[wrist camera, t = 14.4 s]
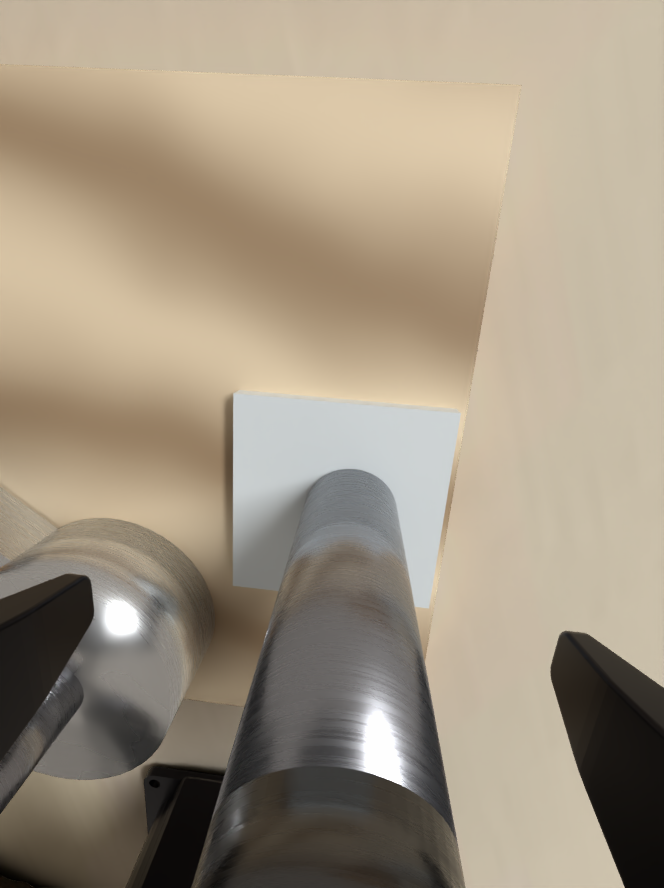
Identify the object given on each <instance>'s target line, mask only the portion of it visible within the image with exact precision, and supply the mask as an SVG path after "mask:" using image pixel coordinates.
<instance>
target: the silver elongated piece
mask: <svg viewBox="0 0 664 888" xmlns="http://www.w3.org/2000/svg"><path fill="white" fill-rule="evenodd" d="M68 573H71V574H80V575H86V576H88V577H89V578H90V580H91V584H92V593H93V602H94V617H93V620H92V623H91V625H90V626H89V628H88V630H87V631H86V633H85V635H84V636H83V638H82V640H81V641H80V643H79V645H78V646H77V648H76V650H75V651H74V653H73V655H72V656H71V658H70V660H69V661H68V663H67V665H66V666H65V668H64V670H63V672H62V673H61V675H60V677H59V678H58V680H57V682H56V683H55V685H54V687H53V688H52V690H51V691H50V693H49V694H48V696H47V698H46V699H45V701H44V702H43V704H42V705H41V706H40V708H39V709H38V711H37V712H36V714H35V715H34V716H33V718H32V719H31V721H30V722H29V723H28V725H27V726H26V727H25V729H24V730H23V732H22V733H21V734H20V736H19V737H18V739H17V740H16V741H15V743H14V744H13V745H12V747H11V748H10V750H9V751H8V752H7V754H6V755H5V757H4V758H3V759H2V761H1V762H0V814H1V812H2V811H3V810H4V808H5V807H6V806H7V804H8V803H9V802H10V800H11V799H12V798H13V796H14V795H15V794H16V792H17V791H18V790H19V788H20V787H21V786H22V784H23V783H24V782H25V780H26V779H27V778H28V776H29V775H30V773H31V772H32V771H36V772H39V773H43V774H46V775H50V776H54V777H60V778H66V779H78V780H92V779H102V778H108V777H112V776H116V775H120V774H122V773H125V772H127V771H130V770H132V769H134V768H135V767H137V766H139V765H141V764H142V763H143V762H145V761H146V760H147V759H148V758H149V757H151V756H152V754H153V753H154V752H155V751H156V750H157V749H158V747H159V746H160V744H161V742H162V741H163V739H164V737H165V735H166V733H167V731H168V729H169V727H170V725H171V723H172V721H173V719H174V717H175V715H176V713H177V711H178V709H179V706H180V704H181V702H182V700H183V698H184V696H185V694H186V692H187V690H188V688H189V686H190V684H191V682H192V680H193V678H194V676H195V674H196V672H197V670H198V668H199V666H200V664H201V662H202V659H203V657H204V655H205V653H206V651H207V649H208V647H209V645H210V642H211V639H212V637H213V632H214V627H215V613H214V605H213V601H212V597H211V594H210V591H209V589H208V586H207V584H206V582H205V580H204V578H203V577H202V575H201V573H200V572H199V570H198V569H197V568H196V566H195V565H194V564H193V562H192V561H191V560H190V559H189V558H188V557H187V556H186V555H185V554H184V553H183V552H182V551H181V550H180V549H179V548H178V547H176V546H175V545H174V544H173V543H172V542H170V541H169V540H167V539H166V538H164V537H163V536H161V535H159V534H157V533H155V532H154V531H152V530H150V529H148V528H145V527H142V526H140V525H137V524H134V523H131V522H127V521H123V520H117V519H110V518H92V519H83V520H79V521H75V522H72V523H69V524H67V525H64V526H62V527H60V528H57V527H55V526H54V525H52V524H51V523H50V522H48V521H47V520H46V519H44V518H43V517H41V516H40V515H39V514H37V513H36V512H35V511H33V510H32V509H30V508H29V507H28V506H26V505H25V504H24V503H22V502H21V501H19V500H18V499H17V498H15V497H14V496H12V495H11V494H10V493H8V492H7V491H6V490H4V489H3V488H1V487H0V599H2V598H4V597H7V596H9V595H12V594H15V593H17V592H20V591H22V590H25V589H27V588H30V587H33V586H35V585H38V584H40V583H43V582H45V581H48V580H51V579H53V578H56V577H58V576H61V575H64V574H68Z"/></svg>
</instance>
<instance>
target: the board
mask: <svg viewBox="0 0 664 888" xmlns="http://www.w3.org/2000/svg"><path fill="white" fill-rule="evenodd" d="M521 86H522V85H512V84H487V83H461V82H436V81H411V80H386V79H361V78H335V77H310V76H285V75H260V74H234V73H209V72H184V71H159V70H134V69H108V68H83V67H58V66H33V65H8V64H0V487H1V488H3V489H4V490H6V491H7V492H8V493H10V494H11V495H12V496H14V497H15V498H17V499H18V500H19V501H21V502H22V503H24V504H25V505H26V506H28V507H29V508H30V509H32V510H33V511H35V512H36V513H37V514H39V515H40V516H41V517H43V518H44V519H46V520H47V521H48V522H50V523H51V524H52V525H54V526H55V527H57V528H60V527H62V526H64V525H67V524H69V523H72V522H75V521H79V520H83V519H92V518H110V519H117V520H123V521H127V522H131V523H134V524H137V525H140V526H142V527H145V528H148V529H150V530H152V531H154V532H155V533H157V534H159V535H161V536H163V537H164V538H166V539H167V540H169V541H170V542H172V543H173V544H174V545H175V546H176V547H178V548H179V549H180V550H181V551H182V552H183V553H184V554H185V555H186V556H187V557H188V558H189V559H190V560H191V561H192V562H193V564H194V565H195V566H196V568H197V569H198V570H199V572H200V573H201V575H202V577H203V578H204V580H205V582H206V584H207V586H208V589H209V591H210V594H211V597H212V601H213V605H214V613H215V627H214V632H213V637H212V639H211V642H210V645H209V647H208V649H207V651H206V653H205V655H204V657H203V659H202V662H201V664H200V666H199V668H198V670H197V672H196V674H195V676H194V678H193V680H192V682H191V684H190V686H189V688H188V690H187V692H186V694H185V696H184V698H183V699H189V700H196V701H204V702H211V703H219V704H226V705H234V706H241V707H245V704H246V700H247V697H248V694H249V690H250V687H251V683H252V680H253V677H254V673H255V670H256V666H257V663H258V659H259V656H260V653H261V649H262V646H263V642H264V639H265V636H266V632H267V629H268V625H269V622H270V619H271V615H272V612H273V608H274V605H275V602H276V598H277V595H278V591H274V590H265V589H257V588H248V587H240V586H233V393H235V392H237V391H239V390H246V391H258V392H269V393H281V394H292V395H304V396H315V397H327V398H338V399H350V400H361V401H373V402H384V403H396V404H408V405H419V406H431V407H442V408H454V409H457V410H458V411H459V412H460V413H461V416H460V422H459V428H458V434H457V440H456V446H455V452H454V458H453V464H452V471H451V477H450V483H449V489H448V495H447V501H446V507H445V513H444V519H443V526H442V532H441V538H440V544H439V550H438V556H437V562H436V568H435V574H434V580H433V587H432V593H431V599H430V605H429V608H421V607H415V611H416V616H417V622H418V628H419V633H420V639H421V644H422V650H423V655H424V661H425V658H426V652H427V646H428V640H429V634H430V628H431V622H432V616H433V610H434V604H435V598H436V593H437V587H438V581H439V575H440V569H441V563H442V557H443V551H444V545H445V539H446V533H447V527H448V521H449V515H450V509H451V503H452V497H453V491H454V485H455V479H456V473H457V467H458V461H459V456H460V450H461V444H462V438H463V432H464V426H465V420H466V414H467V408H468V402H469V396H470V390H471V384H472V378H473V372H474V366H475V360H476V354H477V348H478V342H479V336H480V330H481V325H482V319H483V313H484V307H485V301H486V295H487V289H488V283H489V277H490V271H491V265H492V259H493V253H494V247H495V241H496V235H497V229H498V223H499V217H500V211H501V205H502V199H503V194H504V188H505V182H506V176H507V170H508V164H509V158H510V152H511V146H512V140H513V134H514V128H515V122H516V116H517V110H518V104H519V98H520V92H521Z"/></svg>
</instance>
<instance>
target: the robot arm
mask: <svg viewBox="0 0 664 888" xmlns="http://www.w3.org/2000/svg"><path fill="white" fill-rule="evenodd" d="M93 617H94V602H93V593H92V584H91V580H90V578H89V577H88V576H86V575H80V574H71V573H68V574H64V575H61V576H58V577H56V578H53V579H51V580H48V581H45V582H43V583H40V584H38V585H35V586H33V587H30V588H27V589H25V590H22V591H20V592H17V593H15V594H12V595H9V596H7V597H4V598H2V599H0V762H1V761H2V759H3V758H4V757H5V755H6V754H7V752H8V751H9V750H10V748H11V747H12V745H13V744H14V743H15V741H16V740H17V739H18V737H19V736H20V734H21V733H22V732H23V730H24V729H25V727H26V726H27V725H28V723H29V722H30V721H31V719H32V718H33V716H34V715H35V714H36V712H37V711H38V709H39V708H40V706H41V705H42V704H43V702H44V701H45V699H46V698H47V696H48V694H49V693H50V691H51V690H52V688H53V687H54V685H55V683H56V682H57V680H58V678H59V677H60V675H61V673H62V672H63V670H64V668H65V666H66V665H67V663H68V661H69V660H70V658H71V656H72V655H73V653H74V651H75V650H76V648H77V646H78V645H79V643H80V641H81V640H82V638H83V636H84V635H85V633H86V631H87V630H88V628H89V626H90V625H91V623H92V620H93ZM551 680H552V684H553V687H554V690H555V694H556V697H557V701H558V704H559V707H560V711H561V714H562V717H563V721H564V724H565V728H566V731H567V734H568V738H569V741H570V744H571V748H572V751H573V755H574V758H575V761H576V764H577V767H578V770H579V773H580V776H581V778H582V781H583V784H584V786H585V789H586V792H587V794H588V797H589V799H590V802H591V804H592V807H593V809H594V812H595V814H596V817H597V819H598V822H599V824H600V827H601V829H602V832H603V834H604V837H605V839H606V842H607V844H608V847H609V849H610V852H611V854H612V857H613V859H614V862H615V864H616V867H617V869H618V872H619V874H620V877H621V879H622V882H623V884H624V887H625V888H664V688H663V687H662V686H660V685H659V684H657V683H656V682H655V681H653V680H652V679H650V678H649V677H648V676H646V675H645V674H643V673H642V672H641V671H639V670H638V669H636V668H635V667H634V666H632V665H631V664H629V663H628V662H626V661H625V660H624V659H622V658H621V657H619V656H618V655H617V654H615V653H614V652H612V651H611V650H610V649H608V648H607V647H605V646H604V645H602V644H601V643H600V642H598V641H597V640H595V639H594V638H593V637H591V636H590V635H588V634H586V633H580V632H572V631H564V632H562V633H561V634H560V636H559V638H558V642H557V646H556V649H555V653H554V656H553V660H552V664H551ZM223 779H224V776H219V775H213V774H206V773H199V772H192V771H185V770H178V769H171V768H164V767H152V768H150V770H149V771H148V773H147V775H146V777H145V779H144V789H145V801H146V813H147V826H148V836H147V839H146V841H145V843H144V846H143V848H142V850H141V853H140V855H139V857H138V860H137V862H136V864H135V867H134V869H133V871H132V874H131V876H130V878H129V881H128V883H127V885H126V888H192V884H193V881H194V877H195V874H196V871H197V867H198V864H199V860H200V857H201V854H202V850H203V847H204V843H205V840H206V837H207V833H208V830H209V826H210V823H211V820H212V816H213V813H214V809H215V806H216V802H217V799H218V796H219V792H220V789H221V785H222V782H223Z"/></svg>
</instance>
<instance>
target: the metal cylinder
mask: <svg viewBox="0 0 664 888" xmlns="http://www.w3.org/2000/svg"><path fill="white" fill-rule="evenodd" d="M192 888H465V882H464V877H463V871H462V866H461V860H460V855H459V849H458V844H457V838H456V832H455V827H454V821H453V816H452V810H451V805H450V799H449V794H448V788H447V783H446V777H445V772H444V766H443V760H442V755H441V749H440V744H439V738H438V733H437V727H436V722H435V716H434V711H433V705H432V700H431V694H430V688H429V683H428V677H427V672H426V666H425V661H424V655H423V650H422V644H421V639H420V633H419V628H418V622H417V616H416V611H415V605H414V600H413V594H412V589H411V583H410V578H409V572H408V567H407V561H406V556H405V550H404V544H403V539H402V533H401V528H400V522H399V517H398V511H397V506H396V502H395V498H394V496H393V494H392V492H391V490H390V489H389V487H388V486H387V485H386V484H385V483H384V482H383V481H382V480H381V479H379V478H378V477H377V476H375V475H373V474H371V473H369V472H366V471H363V470H358V469H341V470H337V471H333V472H331V473H328V474H326V475H325V476H323V477H322V478H320V479H319V480H318V481H317V482H316V483H315V484H314V485H313V486H312V487H311V489H310V490H309V492H308V494H307V497H306V499H305V503H304V506H303V510H302V513H301V517H300V520H299V523H298V527H297V530H296V534H295V537H294V540H293V544H292V547H291V551H290V554H289V557H288V561H287V564H286V568H285V571H284V574H283V578H282V581H281V585H280V588H279V591H278V595H277V598H276V602H275V605H274V608H273V612H272V615H271V619H270V622H269V625H268V629H267V632H266V636H265V639H264V642H263V646H262V649H261V653H260V656H259V659H258V663H257V666H256V670H255V673H254V677H253V680H252V683H251V687H250V690H249V694H248V697H247V700H246V704H245V707H244V711H243V714H242V717H241V721H240V724H239V728H238V731H237V734H236V738H235V741H234V745H233V748H232V751H231V755H230V758H229V762H228V765H227V768H226V772H225V775H224V779H223V782H222V785H221V789H220V792H219V796H218V799H217V802H216V806H215V809H214V813H213V816H212V820H211V823H210V826H209V830H208V833H207V837H206V840H205V843H204V847H203V850H202V854H201V857H200V860H199V864H198V867H197V871H196V874H195V877H194V881H193V884H192Z"/></svg>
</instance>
